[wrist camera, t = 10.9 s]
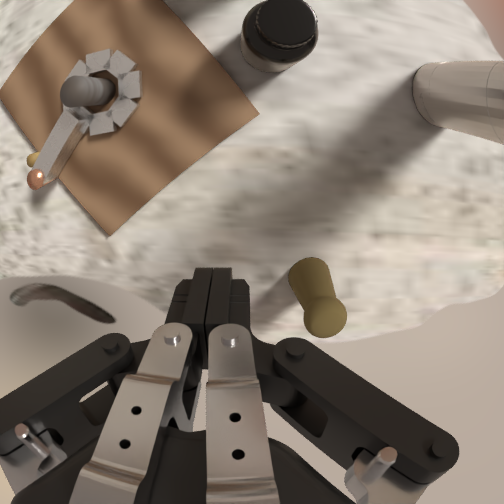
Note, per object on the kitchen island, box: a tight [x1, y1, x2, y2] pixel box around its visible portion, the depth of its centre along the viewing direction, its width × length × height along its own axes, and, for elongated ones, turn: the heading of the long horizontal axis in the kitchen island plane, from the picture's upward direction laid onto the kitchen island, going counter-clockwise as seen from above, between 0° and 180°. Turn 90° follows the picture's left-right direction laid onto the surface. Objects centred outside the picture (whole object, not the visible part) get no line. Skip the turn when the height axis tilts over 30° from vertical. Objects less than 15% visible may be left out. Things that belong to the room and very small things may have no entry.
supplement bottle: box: [240, 0, 318, 73], centre depth 23 cm, size 7×7×12 cm
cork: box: [288, 257, 347, 338], centre depth 38 cm, size 6×6×11 cm
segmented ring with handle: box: [27, 49, 143, 190], centre depth 27 cm, size 18×10×4 cm, turn 136°
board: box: [0, 0, 259, 236], centre depth 26 cm, size 24×28×9 cm
